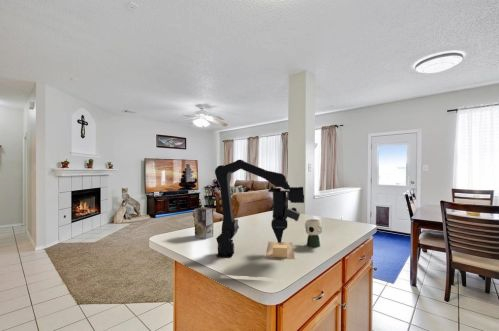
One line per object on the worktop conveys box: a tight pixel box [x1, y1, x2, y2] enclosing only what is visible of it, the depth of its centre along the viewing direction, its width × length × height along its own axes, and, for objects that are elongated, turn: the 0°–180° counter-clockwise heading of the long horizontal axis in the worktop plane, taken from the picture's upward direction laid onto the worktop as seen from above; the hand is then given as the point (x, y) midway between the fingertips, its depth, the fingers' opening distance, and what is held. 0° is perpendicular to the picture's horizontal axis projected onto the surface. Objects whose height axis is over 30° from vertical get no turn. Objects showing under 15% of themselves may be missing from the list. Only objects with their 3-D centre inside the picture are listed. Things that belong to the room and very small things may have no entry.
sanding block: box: [273, 245, 287, 258], centre depth 96 cm, size 6×4×4 cm, turn 82°
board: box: [265, 241, 296, 260], centre depth 104 cm, size 12×22×1 cm, turn 172°
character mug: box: [304, 218, 323, 248], centre depth 110 cm, size 11×7×13 cm, turn 30°
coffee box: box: [194, 206, 214, 240], centre depth 129 cm, size 9×6×16 cm
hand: (279, 239), depth 96 cm, fingers open, 9 cm apart
